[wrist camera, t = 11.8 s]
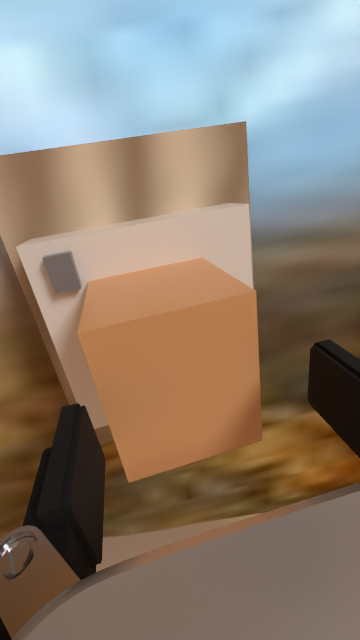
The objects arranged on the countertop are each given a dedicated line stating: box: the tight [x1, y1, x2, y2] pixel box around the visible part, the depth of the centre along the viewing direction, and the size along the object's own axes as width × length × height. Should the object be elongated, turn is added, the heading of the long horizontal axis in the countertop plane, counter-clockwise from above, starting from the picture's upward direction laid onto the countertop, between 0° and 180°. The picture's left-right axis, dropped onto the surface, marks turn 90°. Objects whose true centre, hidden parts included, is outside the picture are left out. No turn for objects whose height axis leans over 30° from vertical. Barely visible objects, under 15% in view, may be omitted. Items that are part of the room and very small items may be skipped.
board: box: [0, 121, 254, 445], centre depth 22 cm, size 16×22×2 cm
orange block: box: [77, 257, 262, 482], centre depth 16 cm, size 7×8×9 cm
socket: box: [16, 203, 253, 429], centre depth 20 cm, size 13×13×4 cm
